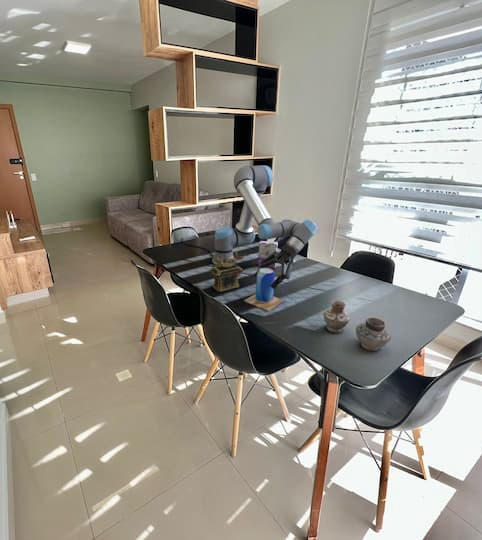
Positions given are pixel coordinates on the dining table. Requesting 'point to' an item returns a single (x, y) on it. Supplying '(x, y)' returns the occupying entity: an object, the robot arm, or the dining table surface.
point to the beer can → (264, 285)
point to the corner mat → (267, 306)
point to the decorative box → (226, 274)
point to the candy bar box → (266, 251)
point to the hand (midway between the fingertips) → (263, 282)
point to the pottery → (358, 327)
